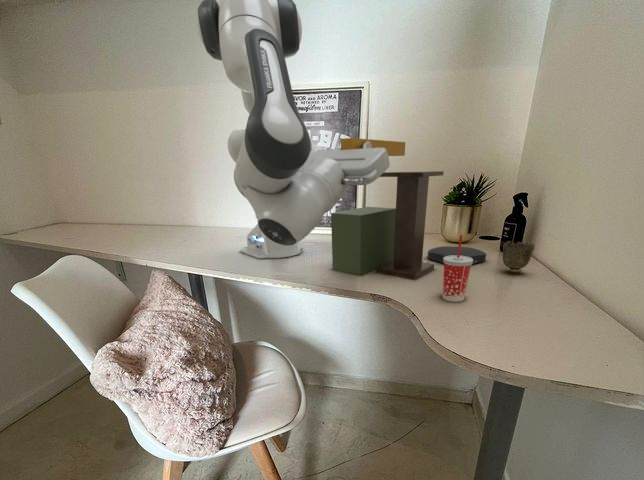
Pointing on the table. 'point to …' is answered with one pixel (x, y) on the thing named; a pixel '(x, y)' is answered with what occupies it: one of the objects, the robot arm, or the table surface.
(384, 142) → the wooden bar
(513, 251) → the cup
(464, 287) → the beverage cup
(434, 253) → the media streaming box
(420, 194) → the shelf stand
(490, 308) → the table surface
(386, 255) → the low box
